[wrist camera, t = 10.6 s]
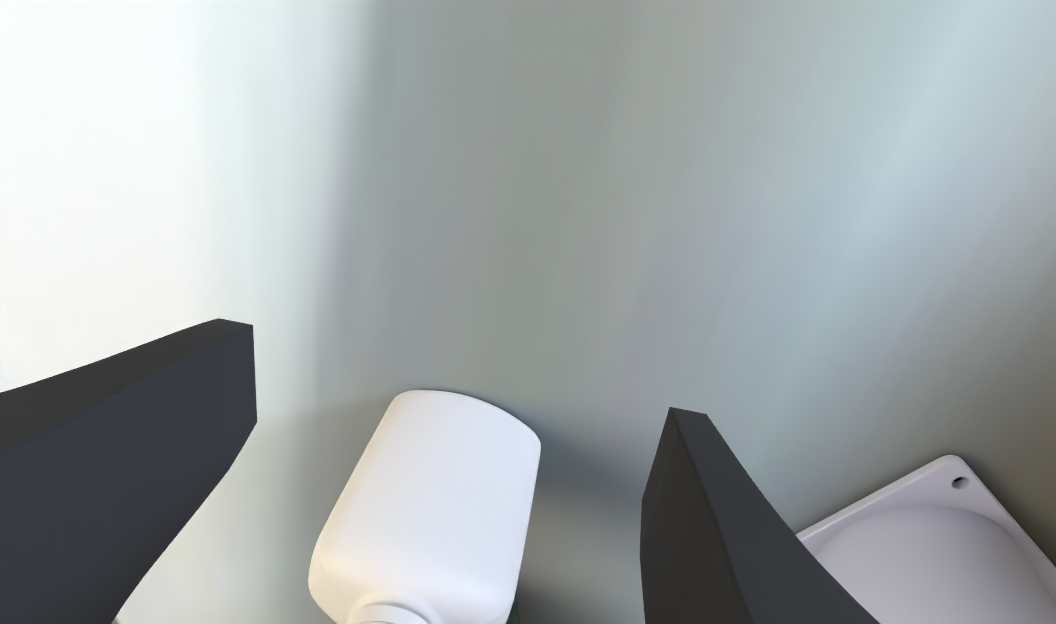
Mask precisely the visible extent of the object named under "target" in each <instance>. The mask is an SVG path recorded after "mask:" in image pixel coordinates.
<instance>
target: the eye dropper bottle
mask: <svg viewBox="0 0 1056 624" xmlns="http://www.w3.org/2000/svg"><path fill="white" fill-rule="evenodd" d="M540 453H541V444H540V441H539V439H538V437H537V436H536V434H535V433H534V432H533V431H532V430H531V429H530V428H529V427H528V426H526V425H525V424H524V423H522V422H521V421H519V420H518V419H516V418H515V417H513V416H512V415H510V414H509V413H507V412H505V411H503V410H501V409H500V408H498V407H495V406H493V405H491V404H489V403H486V402H484V401H481V400H479V399H476V398H472V397H469V396H465V395H461V394H457V393H452V392H445V391H435V390H412V391H406V392H404V393H401V394H399V395H397V396H396V397H395V398H394V400H393V401H392V402H391V404H390V406H389V407H388V409H387V411H386V413H385V415H384V416H383V418H382V420H381V422H380V424H379V425H378V427H377V429H376V431H375V433H374V435H373V436H372V438H371V440H370V442H369V444H368V446H367V447H366V449H365V451H364V453H363V455H362V457H361V458H360V460H359V462H358V464H357V466H356V468H355V470H354V471H353V473H352V475H351V477H350V479H349V481H348V482H347V484H346V486H345V488H344V490H343V492H342V494H341V495H340V497H339V499H338V501H337V503H336V505H335V507H334V508H333V510H332V512H331V514H330V516H329V518H328V520H327V522H326V524H325V526H324V528H323V530H322V532H321V534H320V536H319V538H318V541H317V543H316V546H315V549H314V552H313V556H312V560H311V565H310V570H309V577H308V585H309V589H310V593H311V595H312V597H313V599H314V600H315V601H316V603H317V604H318V605H319V606H320V608H321V609H322V610H323V611H324V612H325V613H326V614H327V615H328V616H329V617H330V618H331V619H333V620H334V621H335V622H336V623H337V624H506V621H507V619H508V616H509V613H510V610H511V607H512V604H513V601H514V597H515V592H516V587H517V582H518V577H519V572H520V567H521V561H522V556H523V550H524V545H525V539H526V534H527V528H528V523H529V517H530V511H531V506H532V500H533V494H534V489H535V483H536V477H537V472H538V466H539V460H540Z"/></svg>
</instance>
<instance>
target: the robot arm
mask: <svg viewBox="0 0 1056 624" xmlns="http://www.w3.org/2000/svg"><path fill="white" fill-rule="evenodd" d="M256 423H257V409H256V386H255V363H254V340H253V325H250V324H245V323H240V322H235V321H230V320H224V319H215V320H211V321H207V322H204V323H201V324H198V325H195V326H192V327H189V328H186V329H183V330H181V331H178V332H175V333H172V334H170V335H167V336H164V337H162V338H159V339H156V340H154V341H151V342H148V343H146V344H143V345H140V346H137V347H135V348H132V349H129V350H127V351H124V352H121V353H119V354H116V355H113V356H110V357H108V358H105V359H102V360H100V361H97V362H94V363H91V364H88V365H85V366H82V367H79V368H76V369H73V370H70V371H67V372H64V373H61V374H58V375H55V376H52V377H49V378H46V379H43V380H40V381H37V382H34V383H31V384H28V385H25V386H22V387H18V388H15V389H12V390H8V391H5V392H1V393H0V624H111V623H112V621H113V620H114V618H115V617H116V615H117V614H118V612H119V611H120V609H121V608H122V606H123V604H124V603H125V601H126V600H127V599H128V597H129V596H130V595H131V593H132V592H133V590H134V589H135V588H136V586H137V585H138V584H139V582H140V581H141V580H142V578H143V577H144V576H145V574H146V573H147V572H148V571H149V569H150V568H151V567H152V566H153V564H154V563H155V562H156V561H157V559H158V558H159V557H160V556H161V554H162V553H163V552H164V551H165V549H166V548H167V547H168V546H169V544H170V543H171V542H172V541H173V539H174V538H175V537H176V536H177V535H178V533H179V532H180V531H181V530H182V528H183V527H184V526H185V525H186V523H187V522H188V521H189V520H190V518H191V517H192V516H193V515H194V513H195V512H196V511H197V510H198V508H199V507H200V506H201V505H202V503H203V502H204V501H205V500H206V498H207V497H208V496H209V495H210V493H211V492H212V491H213V489H214V488H215V487H216V486H217V484H218V483H219V482H220V481H221V479H222V478H223V477H224V475H225V474H226V473H227V471H228V470H229V469H230V467H231V465H232V464H233V462H234V461H235V459H236V457H237V456H238V454H239V452H240V451H241V449H242V447H243V446H244V444H245V442H246V440H247V439H248V437H249V435H250V433H251V432H252V430H253V428H254V426H255V425H256ZM959 477H963V478H962V479H961V480H959V481H956V482H954V481H953V480H955V479H956V478H959ZM640 564H641V577H642V589H643V601H644V613H645V624H1056V567H1055V566H1054V565H1053V563H1052V562H1051V561H1050V560H1049V559H1048V558H1047V557H1046V555H1045V554H1044V553H1043V552H1042V551H1041V550H1040V548H1039V547H1038V546H1037V545H1036V544H1035V543H1034V542H1033V540H1032V539H1031V538H1030V537H1029V536H1028V535H1027V533H1026V532H1025V531H1024V530H1023V529H1022V528H1021V527H1020V525H1019V524H1018V523H1017V522H1016V521H1015V520H1014V518H1013V517H1012V516H1011V515H1010V514H1009V513H1008V512H1007V510H1006V509H1005V508H1004V507H1003V506H1002V505H1001V503H1000V502H999V501H998V500H997V499H996V498H995V497H994V495H993V494H992V493H991V492H990V491H989V490H988V488H987V487H986V486H985V485H984V484H983V483H982V482H981V480H980V479H979V478H978V477H977V476H976V475H975V473H974V472H973V471H972V470H971V469H970V468H969V467H968V465H967V464H966V463H965V462H964V461H963V460H962V459H961V458H960V457H958V456H955V455H945V456H943V457H940V458H938V459H936V460H934V461H932V462H930V463H928V464H927V465H925V466H923V467H921V468H919V469H917V470H915V471H913V472H912V473H910V474H908V475H906V476H904V477H902V478H900V479H898V480H897V481H895V482H893V483H891V484H889V485H887V486H885V487H883V488H882V489H880V490H878V491H876V492H874V493H872V494H870V495H868V496H867V497H865V498H863V499H861V500H859V501H857V502H855V503H853V504H852V505H850V506H848V507H846V508H844V509H842V510H840V511H838V512H837V513H835V514H833V515H831V516H829V517H827V518H825V519H823V520H821V521H820V522H818V523H816V524H814V525H812V526H810V527H808V528H806V529H805V530H803V531H801V532H799V533H797V534H794V533H793V532H792V530H791V529H790V528H789V527H788V526H787V524H786V523H785V522H784V521H783V520H782V518H781V517H780V516H779V515H778V513H777V512H776V511H775V510H774V508H773V507H772V506H771V505H770V503H769V502H768V501H767V499H766V498H765V497H764V495H763V494H762V493H761V491H760V490H759V489H758V487H757V486H756V485H755V483H754V482H753V481H752V479H751V478H750V476H749V475H748V474H747V472H746V471H745V469H744V468H743V467H742V465H741V464H740V462H739V461H738V459H737V458H736V457H735V455H734V454H733V452H732V451H731V449H730V448H729V446H728V445H727V444H726V442H725V441H724V439H723V438H722V436H721V435H720V433H719V432H718V430H717V429H716V427H715V426H714V424H713V423H712V421H711V420H710V419H709V417H708V416H707V414H703V413H698V412H693V411H688V410H683V409H678V408H672V407H670V408H669V411H668V415H667V418H666V421H665V425H664V428H663V431H662V435H661V438H660V442H659V445H658V448H657V452H656V455H655V458H654V462H653V465H652V468H651V472H650V475H649V479H648V482H647V485H646V489H645V492H644V495H643V499H642V512H641V534H640Z"/></svg>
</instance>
